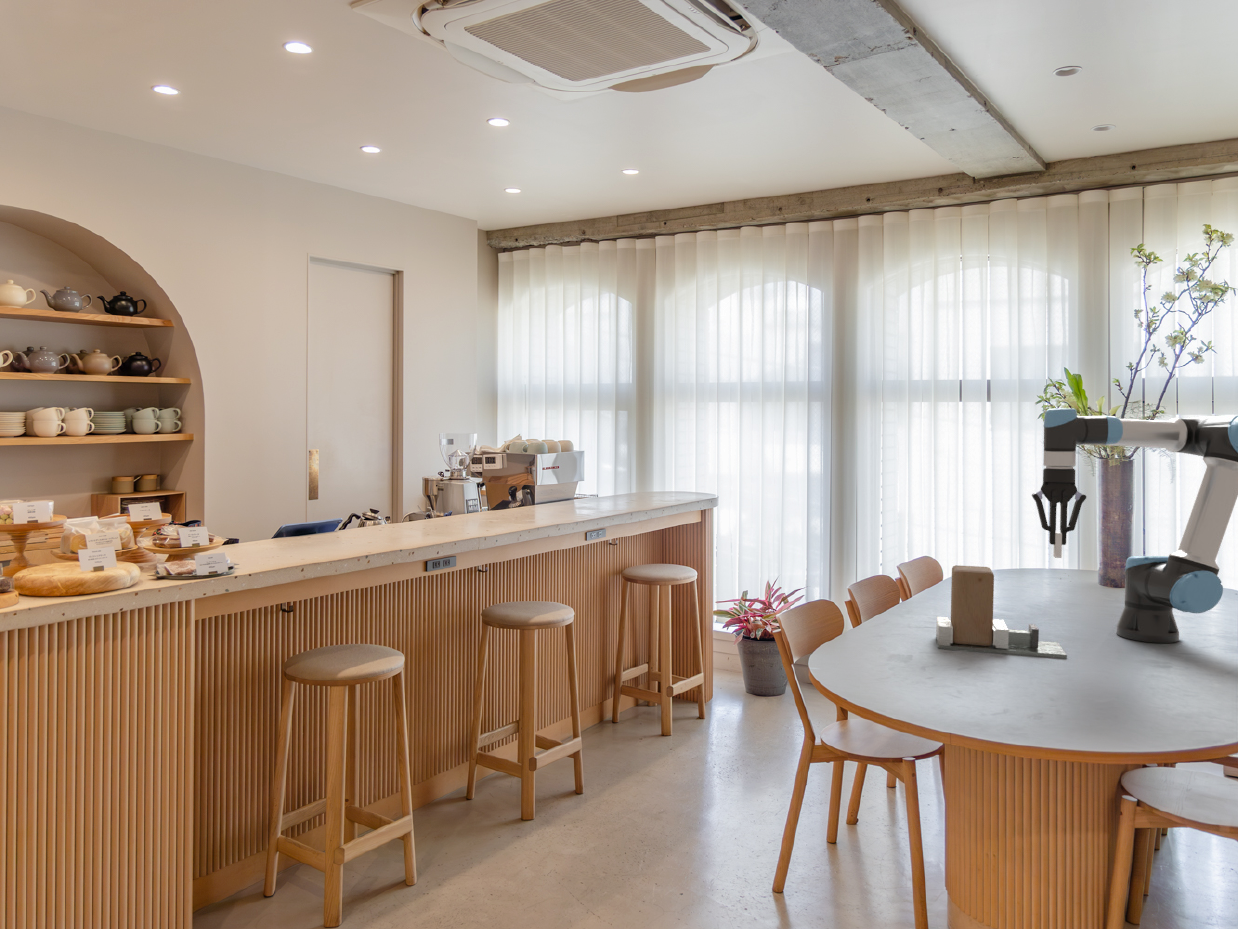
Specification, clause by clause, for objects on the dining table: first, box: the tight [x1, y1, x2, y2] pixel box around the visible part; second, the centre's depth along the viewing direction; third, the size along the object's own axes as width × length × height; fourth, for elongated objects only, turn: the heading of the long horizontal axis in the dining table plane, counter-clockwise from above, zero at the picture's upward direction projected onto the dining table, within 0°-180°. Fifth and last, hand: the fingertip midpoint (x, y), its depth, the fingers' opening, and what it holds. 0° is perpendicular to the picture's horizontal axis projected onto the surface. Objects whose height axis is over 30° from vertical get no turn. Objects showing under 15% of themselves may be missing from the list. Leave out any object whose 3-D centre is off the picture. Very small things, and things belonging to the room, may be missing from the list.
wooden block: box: [950, 565, 995, 646], centre depth 236 cm, size 10×10×20 cm
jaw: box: [992, 618, 1040, 649], centre depth 233 cm, size 11×12×5 cm
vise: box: [935, 616, 1068, 660], centre depth 234 cm, size 31×13×6 cm, turn 72°
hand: (1057, 557), depth 229 cm, fingers closed
